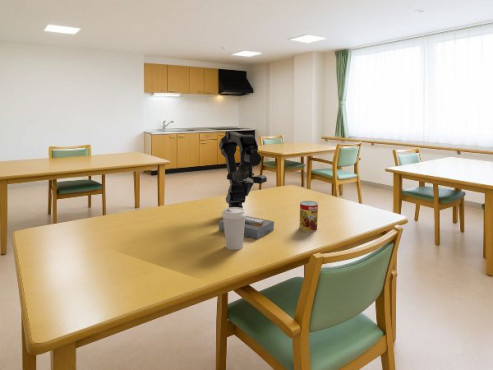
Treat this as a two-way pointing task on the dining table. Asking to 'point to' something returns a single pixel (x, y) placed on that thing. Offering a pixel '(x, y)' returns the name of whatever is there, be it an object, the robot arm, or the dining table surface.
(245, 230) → the silver metal tray
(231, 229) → the coffee cup
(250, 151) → the robot arm
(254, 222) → the steel strap
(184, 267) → the dining table surface
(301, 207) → the canned food
